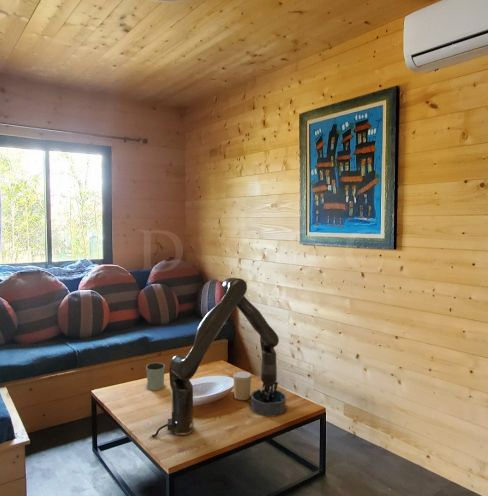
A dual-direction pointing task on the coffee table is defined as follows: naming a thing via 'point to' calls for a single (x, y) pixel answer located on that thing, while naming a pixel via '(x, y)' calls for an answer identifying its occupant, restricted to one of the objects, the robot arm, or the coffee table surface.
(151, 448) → the coffee table surface
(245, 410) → the coffee table surface
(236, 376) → the coffee cup
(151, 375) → the green cylindrical pot
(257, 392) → the bowl
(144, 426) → the coffee table surface
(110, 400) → the coffee table surface
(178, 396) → the robot arm
